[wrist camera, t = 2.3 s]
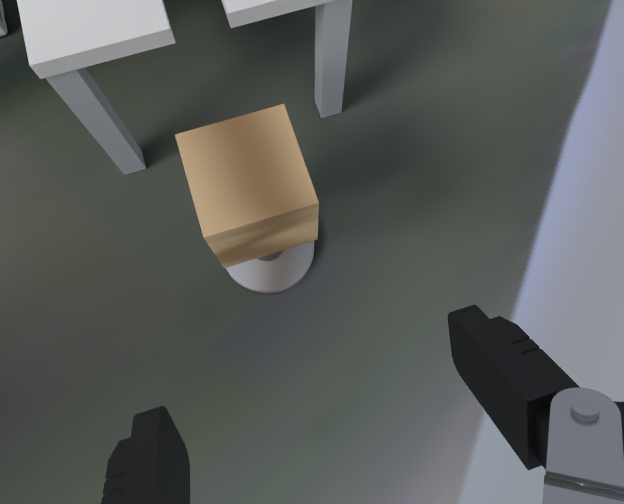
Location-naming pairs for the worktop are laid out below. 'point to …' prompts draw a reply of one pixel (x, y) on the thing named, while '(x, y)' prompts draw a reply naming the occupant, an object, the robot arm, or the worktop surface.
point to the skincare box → (2, 21)
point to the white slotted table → (149, 35)
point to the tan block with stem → (253, 198)
